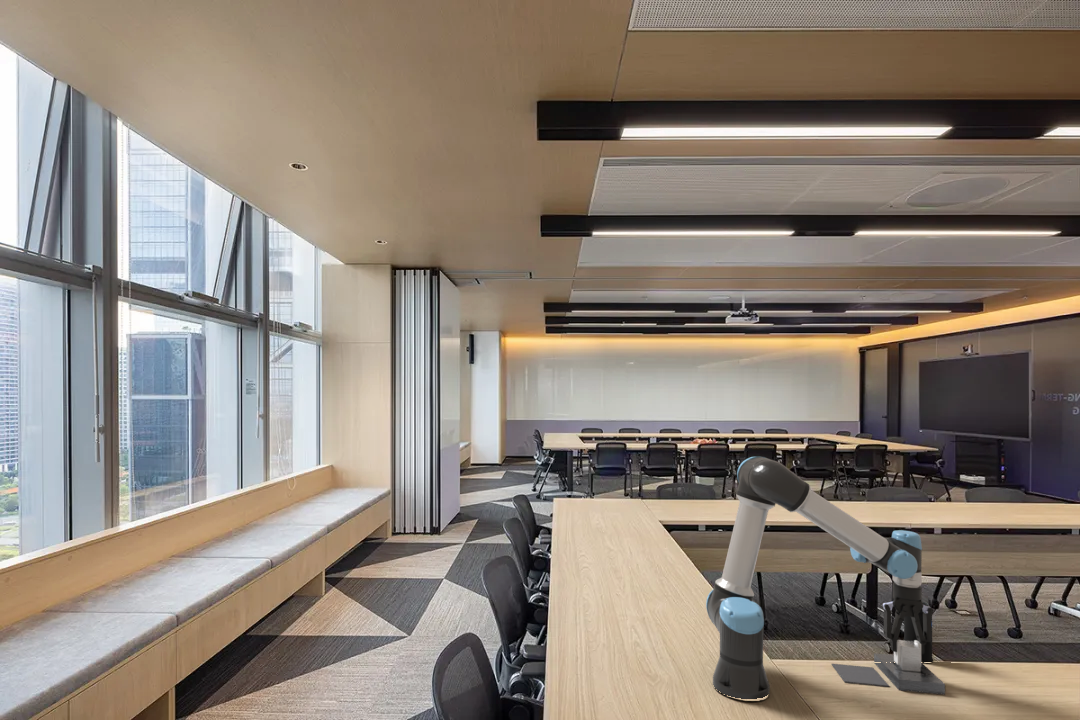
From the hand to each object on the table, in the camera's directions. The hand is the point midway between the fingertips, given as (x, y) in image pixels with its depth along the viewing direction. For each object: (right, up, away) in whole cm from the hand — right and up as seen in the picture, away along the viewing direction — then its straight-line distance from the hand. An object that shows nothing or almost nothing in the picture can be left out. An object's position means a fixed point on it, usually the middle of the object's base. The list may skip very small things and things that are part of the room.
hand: (907, 663), depth 179 cm
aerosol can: (+12, -6, +14) cm, 20 cm away
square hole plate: (0, -4, 0) cm, 4 cm away
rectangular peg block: (0, -4, 0) cm, 4 cm away
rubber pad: (-14, -4, 0) cm, 15 cm away
